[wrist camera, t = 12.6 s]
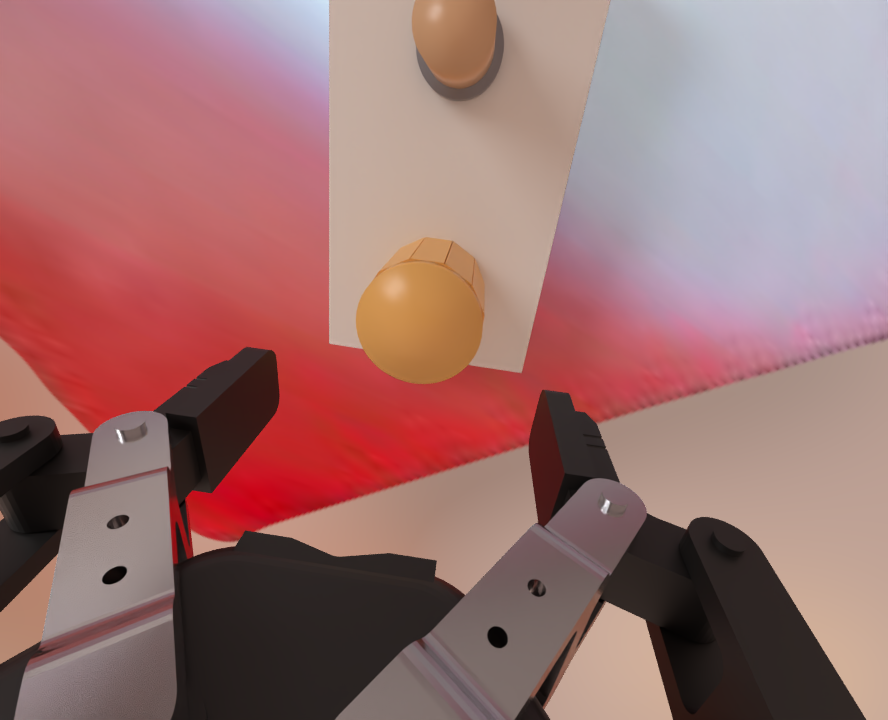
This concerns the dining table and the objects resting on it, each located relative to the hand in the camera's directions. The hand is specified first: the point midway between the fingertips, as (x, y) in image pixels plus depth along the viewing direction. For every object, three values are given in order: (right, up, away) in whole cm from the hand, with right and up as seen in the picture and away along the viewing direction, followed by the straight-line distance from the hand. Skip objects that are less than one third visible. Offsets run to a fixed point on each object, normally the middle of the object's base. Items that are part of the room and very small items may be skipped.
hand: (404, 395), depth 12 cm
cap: (+1, +5, +11) cm, 12 cm away
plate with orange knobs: (+2, +11, +11) cm, 16 cm away
